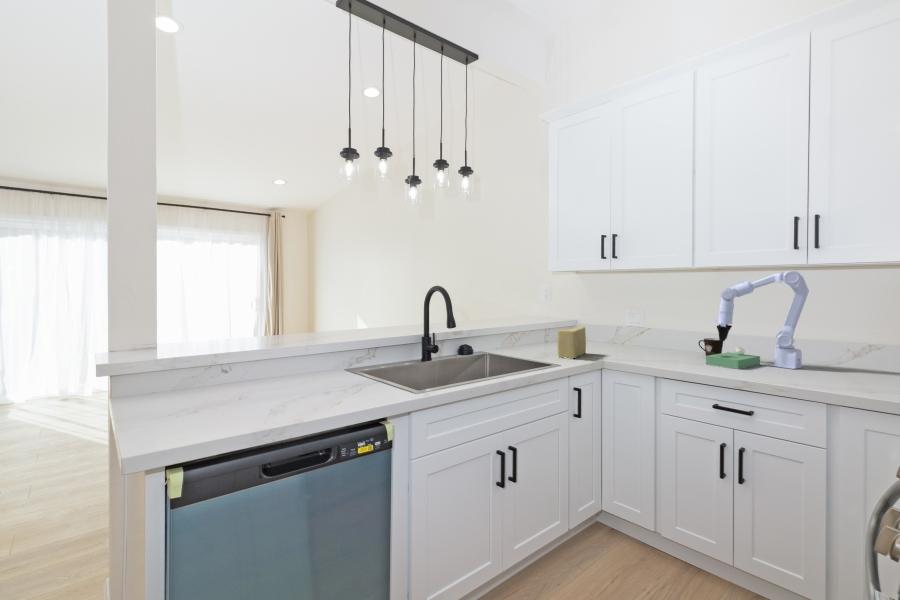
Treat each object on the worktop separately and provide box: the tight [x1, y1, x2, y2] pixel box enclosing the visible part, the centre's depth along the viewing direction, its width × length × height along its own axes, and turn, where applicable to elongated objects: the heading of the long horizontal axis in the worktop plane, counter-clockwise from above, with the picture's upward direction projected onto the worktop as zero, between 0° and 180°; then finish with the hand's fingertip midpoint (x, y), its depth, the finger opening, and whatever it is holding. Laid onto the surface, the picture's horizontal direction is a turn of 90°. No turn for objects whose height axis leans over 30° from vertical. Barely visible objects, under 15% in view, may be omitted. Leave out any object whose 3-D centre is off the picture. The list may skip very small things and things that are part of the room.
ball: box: [734, 346, 746, 355], centre depth 203 cm, size 4×4×4 cm
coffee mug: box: [697, 337, 724, 357], centre depth 218 cm, size 12×9×10 cm
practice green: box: [705, 351, 761, 370], centre depth 200 cm, size 20×14×4 cm
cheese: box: [557, 326, 587, 359], centre depth 227 cm, size 22×10×15 cm, turn 137°
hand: (722, 339), depth 209 cm, fingers open, 7 cm apart
